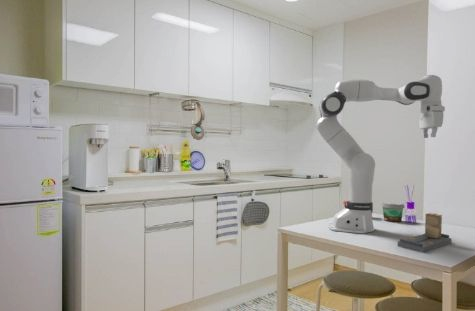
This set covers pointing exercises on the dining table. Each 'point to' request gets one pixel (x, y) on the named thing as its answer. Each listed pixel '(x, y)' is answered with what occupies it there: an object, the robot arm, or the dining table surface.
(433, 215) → the fader knob
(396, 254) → the dining table surface
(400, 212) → the food container
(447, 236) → the fader track
